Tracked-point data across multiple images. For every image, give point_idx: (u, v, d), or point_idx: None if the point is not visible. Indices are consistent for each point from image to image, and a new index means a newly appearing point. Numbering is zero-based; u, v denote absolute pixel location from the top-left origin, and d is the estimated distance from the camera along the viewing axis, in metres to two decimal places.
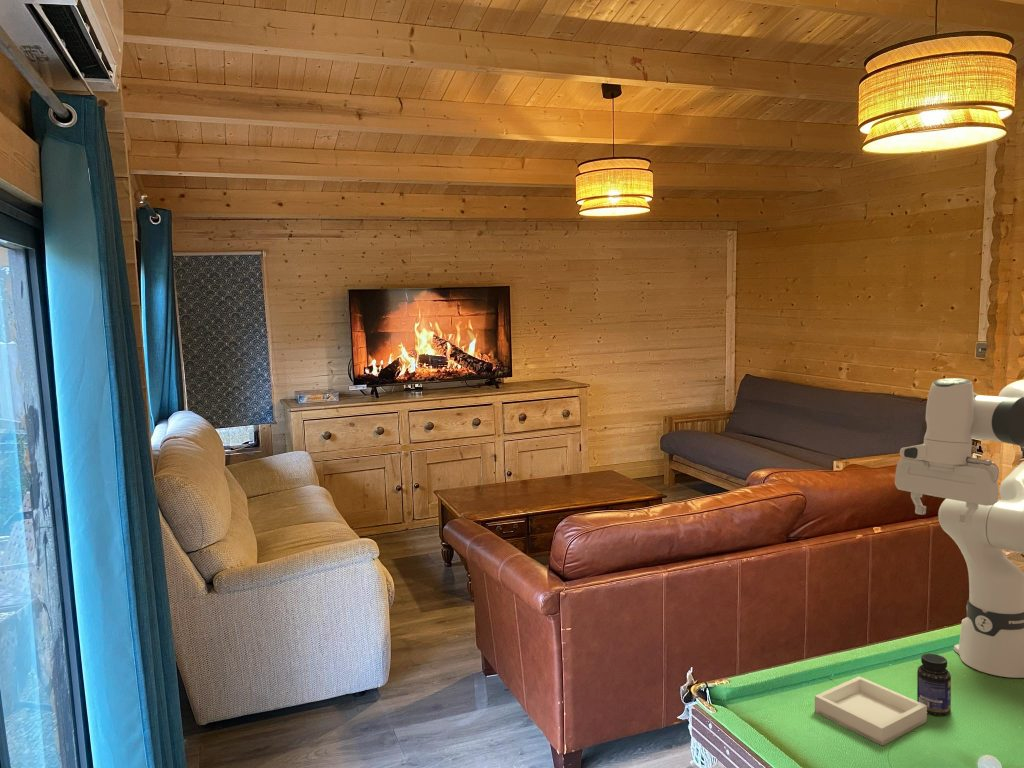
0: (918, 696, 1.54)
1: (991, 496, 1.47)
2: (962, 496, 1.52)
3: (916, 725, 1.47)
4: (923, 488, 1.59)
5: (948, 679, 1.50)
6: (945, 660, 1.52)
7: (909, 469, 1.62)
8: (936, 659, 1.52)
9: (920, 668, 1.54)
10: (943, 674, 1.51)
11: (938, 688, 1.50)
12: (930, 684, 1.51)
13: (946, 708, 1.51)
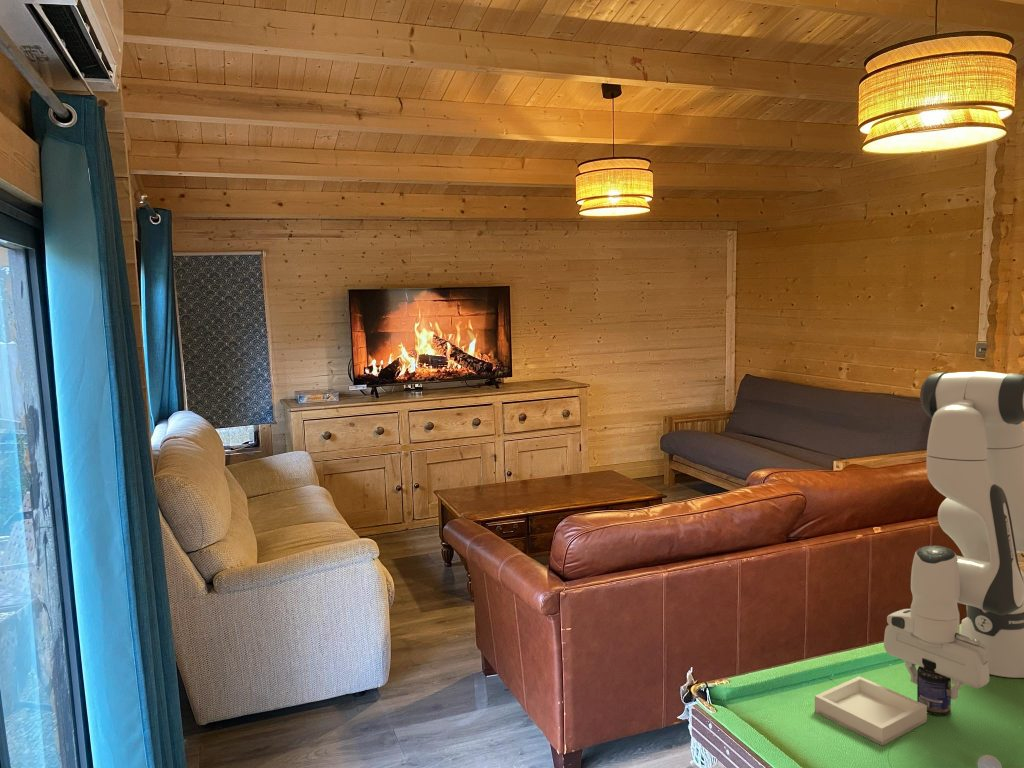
0: (918, 696, 1.54)
1: (981, 680, 1.43)
2: (952, 675, 1.48)
3: (916, 725, 1.47)
4: (912, 658, 1.55)
5: (948, 679, 1.50)
6: None
7: (897, 636, 1.58)
8: None
9: (920, 668, 1.54)
10: None
11: (938, 688, 1.50)
12: (930, 684, 1.51)
13: (946, 708, 1.51)
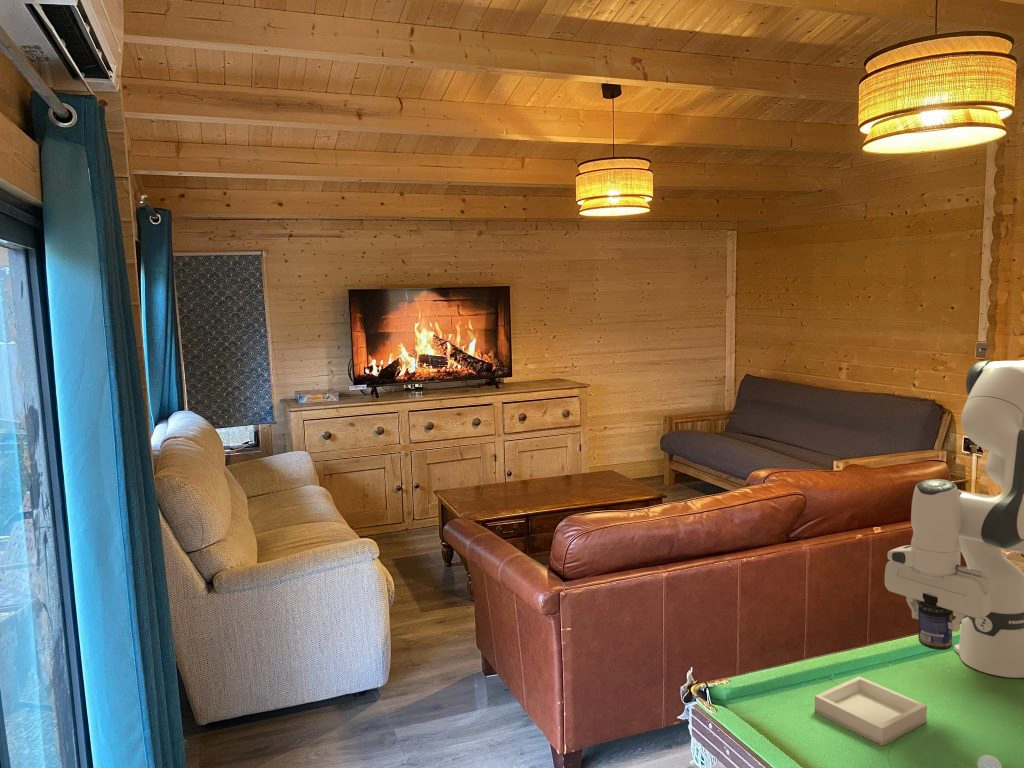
0: (919, 631, 1.53)
1: (983, 609, 1.42)
2: (954, 606, 1.47)
3: (916, 725, 1.47)
4: (913, 593, 1.54)
5: (949, 613, 1.49)
6: None
7: (898, 572, 1.57)
8: None
9: (921, 603, 1.53)
10: (944, 608, 1.49)
11: (939, 622, 1.49)
12: (931, 618, 1.50)
13: (947, 642, 1.50)
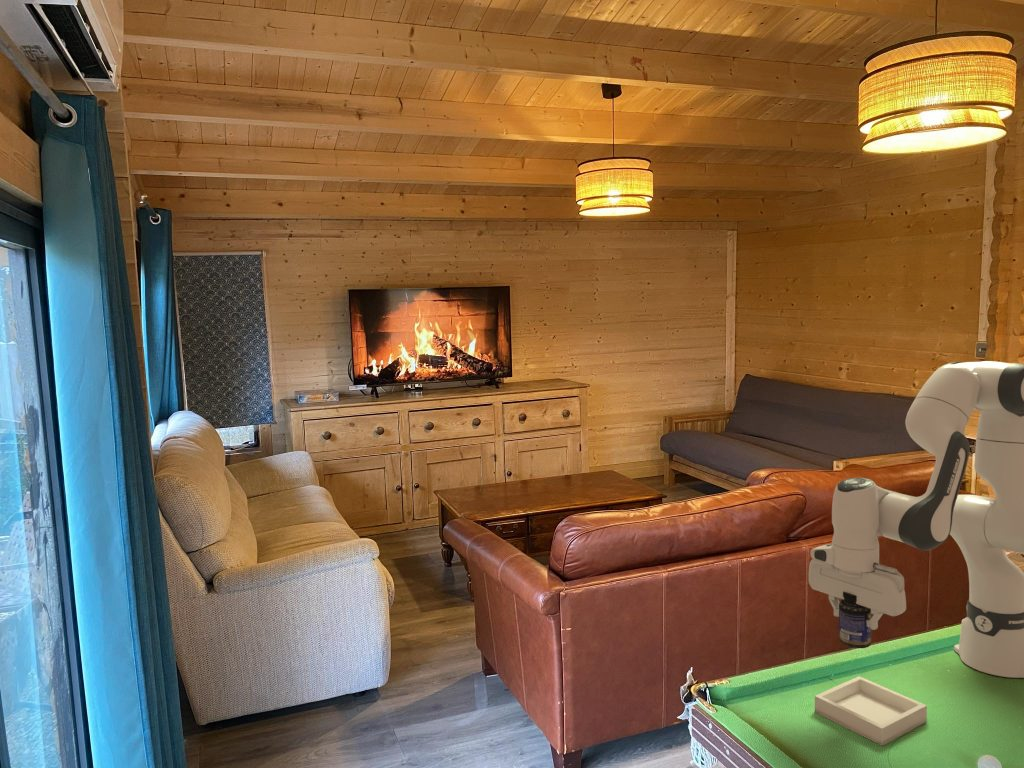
0: (839, 629, 1.53)
1: (897, 607, 1.43)
2: (871, 604, 1.47)
3: (916, 725, 1.47)
4: (834, 591, 1.54)
5: (868, 611, 1.50)
6: None
7: (821, 570, 1.57)
8: None
9: (841, 602, 1.53)
10: (863, 607, 1.50)
11: (857, 621, 1.50)
12: (850, 616, 1.50)
13: (866, 640, 1.50)
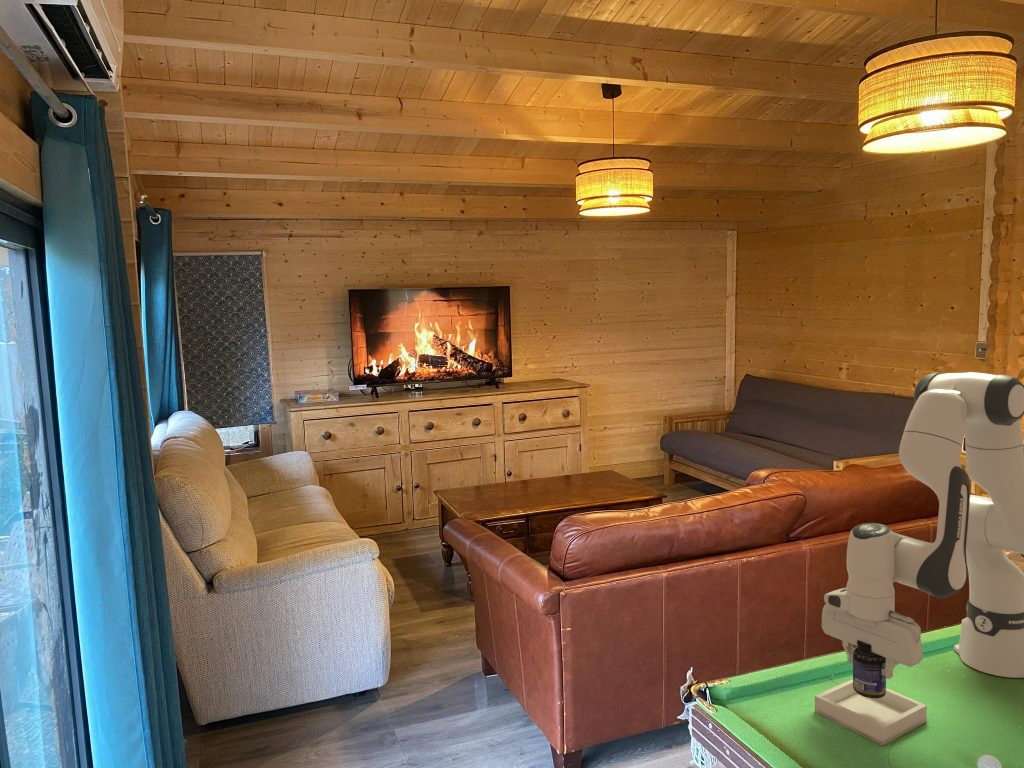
0: (853, 678, 1.51)
1: (914, 658, 1.41)
2: (886, 653, 1.45)
3: (916, 725, 1.47)
4: (848, 637, 1.52)
5: (882, 661, 1.48)
6: None
7: (835, 615, 1.55)
8: None
9: (855, 650, 1.51)
10: (877, 656, 1.48)
11: (872, 671, 1.48)
12: (864, 666, 1.48)
13: (881, 691, 1.48)
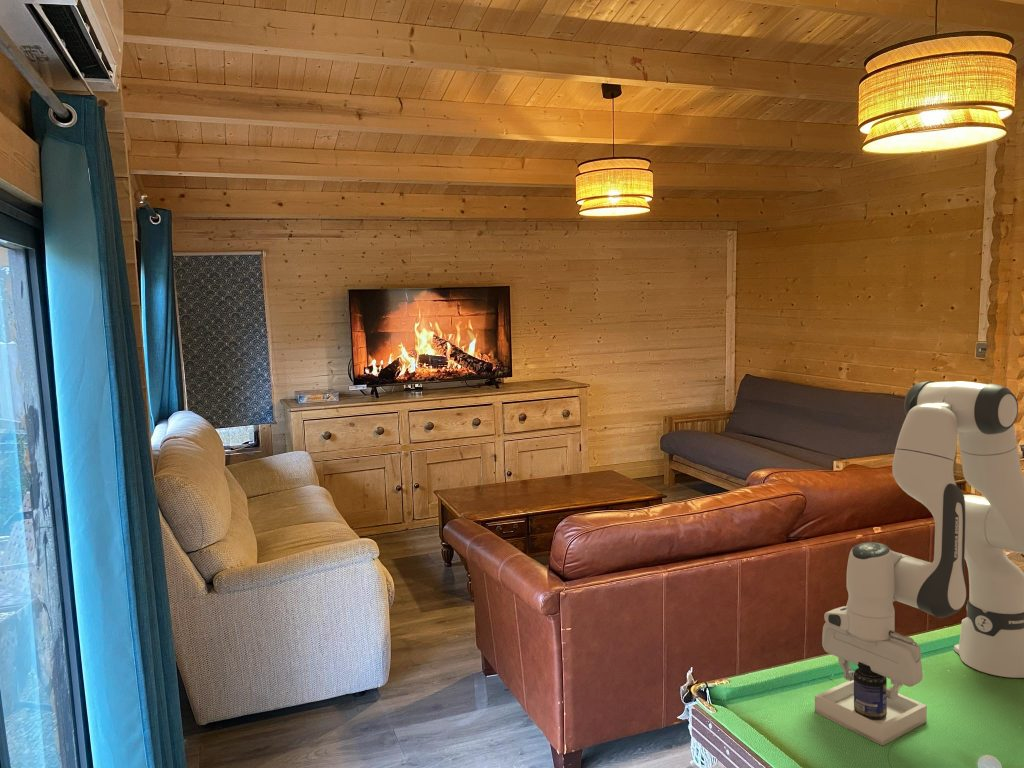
0: (854, 699, 1.52)
1: (914, 678, 1.41)
2: (886, 673, 1.46)
3: (916, 725, 1.47)
4: (849, 656, 1.53)
5: (883, 683, 1.48)
6: None
7: (835, 634, 1.55)
8: None
9: (856, 671, 1.52)
10: (878, 678, 1.48)
11: (873, 692, 1.48)
12: (865, 687, 1.49)
13: (881, 712, 1.48)
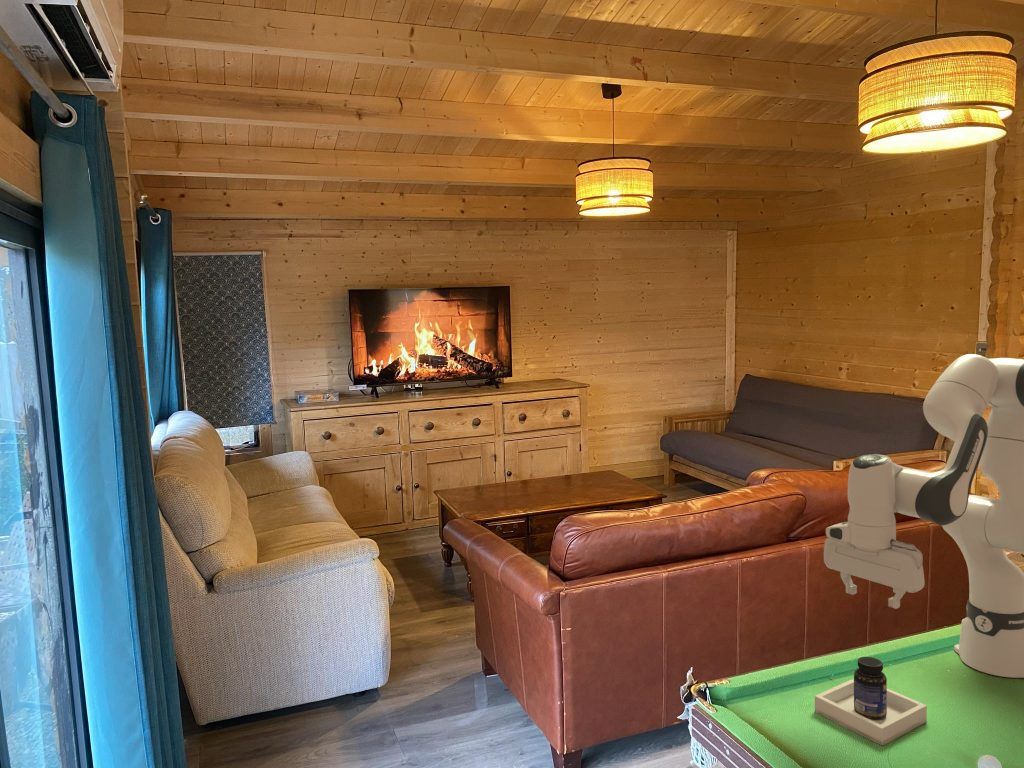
0: (854, 699, 1.52)
1: (916, 583, 1.41)
2: (888, 581, 1.46)
3: (916, 725, 1.47)
4: (851, 569, 1.53)
5: (883, 683, 1.48)
6: (881, 663, 1.49)
7: (836, 548, 1.56)
8: (872, 662, 1.50)
9: (856, 671, 1.52)
10: (878, 678, 1.48)
11: (873, 692, 1.48)
12: (865, 687, 1.49)
13: (881, 712, 1.48)
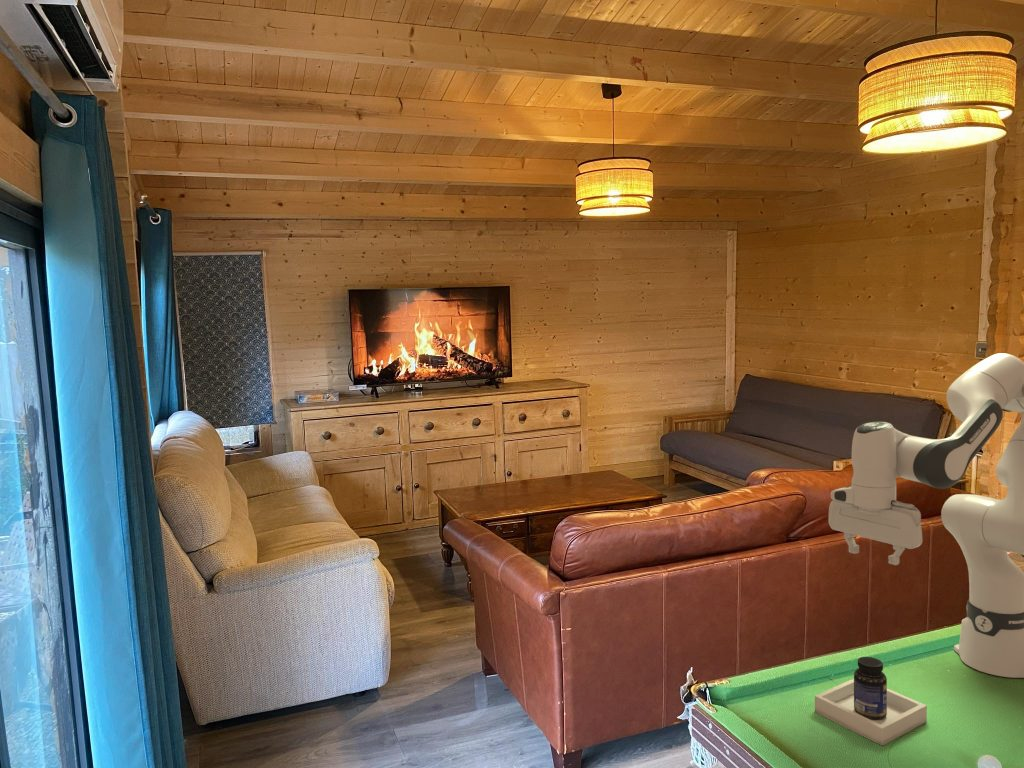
0: (854, 699, 1.52)
1: (914, 540, 1.52)
2: (889, 539, 1.56)
3: (916, 725, 1.47)
4: (853, 529, 1.63)
5: (883, 683, 1.48)
6: (881, 663, 1.49)
7: (840, 511, 1.66)
8: (872, 662, 1.50)
9: (856, 671, 1.52)
10: (878, 678, 1.48)
11: (873, 692, 1.48)
12: (865, 687, 1.49)
13: (881, 712, 1.48)
